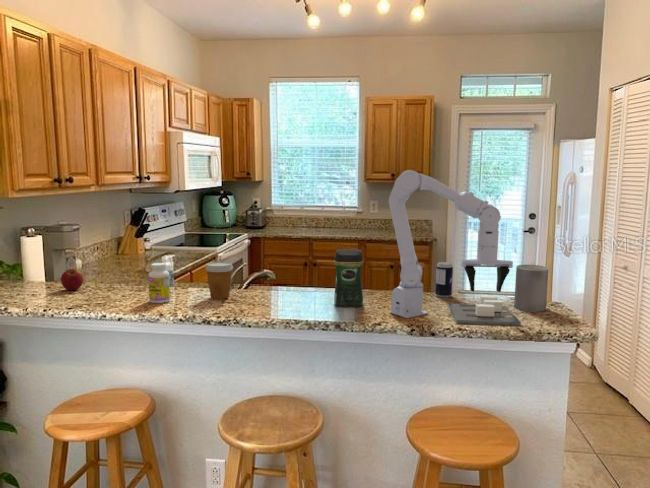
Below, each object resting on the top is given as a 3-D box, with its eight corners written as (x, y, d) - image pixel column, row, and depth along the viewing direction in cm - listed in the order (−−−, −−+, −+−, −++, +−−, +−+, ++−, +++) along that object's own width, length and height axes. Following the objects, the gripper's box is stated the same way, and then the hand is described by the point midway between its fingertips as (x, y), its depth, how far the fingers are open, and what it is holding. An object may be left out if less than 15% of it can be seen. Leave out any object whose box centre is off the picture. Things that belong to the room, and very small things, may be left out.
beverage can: (452, 298, 172) (453, 264, 171) (435, 297, 174) (436, 264, 172) (451, 294, 178) (452, 262, 176) (435, 294, 179) (436, 261, 178)
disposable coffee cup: (239, 296, 173) (238, 263, 171) (220, 302, 165) (219, 267, 163) (219, 293, 178) (219, 260, 176) (200, 298, 170) (199, 264, 168)
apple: (56, 292, 178) (54, 270, 177) (71, 287, 186) (69, 266, 185) (75, 293, 176) (73, 271, 175) (89, 288, 184) (88, 267, 183)
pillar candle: (519, 303, 167) (521, 259, 165) (550, 307, 161) (552, 262, 158) (509, 309, 159) (511, 263, 157) (541, 314, 153) (543, 267, 151)
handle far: (480, 306, 157) (481, 297, 157) (479, 304, 160) (479, 295, 159) (497, 306, 157) (497, 297, 156) (495, 304, 159) (495, 295, 159)
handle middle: (484, 311, 151) (485, 301, 151) (483, 309, 154) (483, 299, 153) (501, 311, 151) (502, 302, 150) (499, 309, 153) (500, 300, 153)
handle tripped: (476, 316, 146) (477, 306, 146) (475, 313, 148) (475, 304, 148) (494, 316, 145) (494, 306, 145) (492, 314, 148) (492, 304, 147)
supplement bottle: (145, 302, 164) (143, 264, 162) (158, 298, 170) (157, 261, 168) (161, 304, 161) (159, 266, 160) (174, 300, 167) (173, 263, 166)
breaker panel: (456, 323, 143) (456, 319, 142) (447, 306, 161) (448, 303, 161) (520, 325, 141) (520, 322, 140) (504, 308, 159) (504, 305, 159)
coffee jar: (362, 301, 167) (363, 247, 164) (363, 308, 159) (364, 251, 156) (333, 301, 167) (334, 247, 165) (333, 307, 159) (334, 251, 157)
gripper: (465, 247, 142) (463, 293, 143) (516, 248, 140) (514, 294, 142) (460, 244, 148) (458, 288, 150) (509, 245, 147) (507, 289, 149)
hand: (485, 291), depth 147 cm, fingers open, 7 cm apart
